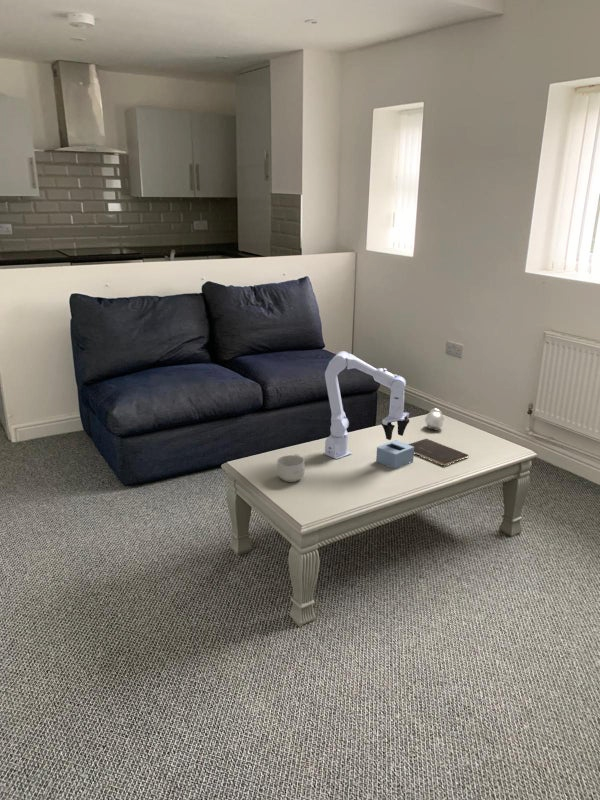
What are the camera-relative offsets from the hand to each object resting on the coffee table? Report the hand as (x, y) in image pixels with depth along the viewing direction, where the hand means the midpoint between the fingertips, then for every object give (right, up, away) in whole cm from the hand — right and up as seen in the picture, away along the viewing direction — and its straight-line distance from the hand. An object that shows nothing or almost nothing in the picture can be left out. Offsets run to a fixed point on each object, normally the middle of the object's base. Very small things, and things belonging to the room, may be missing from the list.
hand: (394, 437), depth 265 cm
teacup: (-42, -15, -14) cm, 47 cm away
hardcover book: (+19, -8, +11) cm, 24 cm away
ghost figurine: (+25, +1, +40) cm, 47 cm away
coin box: (0, -10, +2) cm, 10 cm away
